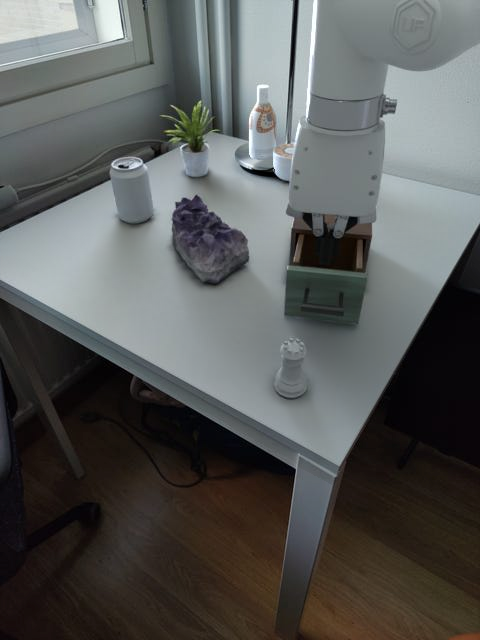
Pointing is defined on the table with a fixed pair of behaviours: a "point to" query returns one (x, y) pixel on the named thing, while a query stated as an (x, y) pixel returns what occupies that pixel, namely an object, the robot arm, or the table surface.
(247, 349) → the table surface
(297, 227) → the cabinet
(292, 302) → the drawer
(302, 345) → the rook chess piece
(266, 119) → the cosmetic set
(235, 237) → the geode
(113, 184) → the can
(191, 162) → the house plant
